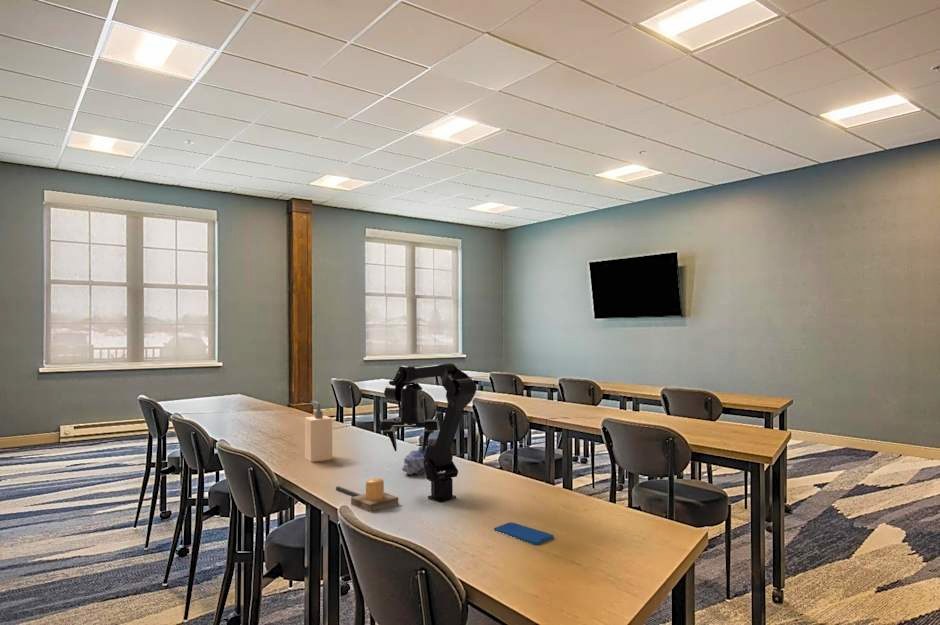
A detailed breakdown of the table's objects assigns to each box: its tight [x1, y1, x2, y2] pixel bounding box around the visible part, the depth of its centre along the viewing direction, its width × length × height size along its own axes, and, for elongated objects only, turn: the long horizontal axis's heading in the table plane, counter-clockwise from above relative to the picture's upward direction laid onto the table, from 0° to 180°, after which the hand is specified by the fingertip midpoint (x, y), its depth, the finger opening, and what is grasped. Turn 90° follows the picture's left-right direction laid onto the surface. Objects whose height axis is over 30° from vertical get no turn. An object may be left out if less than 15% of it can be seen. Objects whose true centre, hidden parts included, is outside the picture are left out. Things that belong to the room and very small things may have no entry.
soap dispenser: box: [304, 400, 333, 463], centre depth 233 cm, size 13×9×22 cm
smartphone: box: [493, 522, 554, 546], centre depth 148 cm, size 7×1×15 cm
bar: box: [335, 485, 362, 497], centre depth 182 cm, size 16×1×1 cm, turn 44°
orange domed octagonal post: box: [365, 477, 385, 500], centre depth 173 cm, size 5×5×5 cm
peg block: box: [350, 492, 399, 512], centre depth 173 cm, size 10×10×6 cm
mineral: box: [401, 445, 429, 475], centre depth 209 cm, size 14×10×10 cm
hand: (409, 451), depth 190 cm, fingers open, 9 cm apart
